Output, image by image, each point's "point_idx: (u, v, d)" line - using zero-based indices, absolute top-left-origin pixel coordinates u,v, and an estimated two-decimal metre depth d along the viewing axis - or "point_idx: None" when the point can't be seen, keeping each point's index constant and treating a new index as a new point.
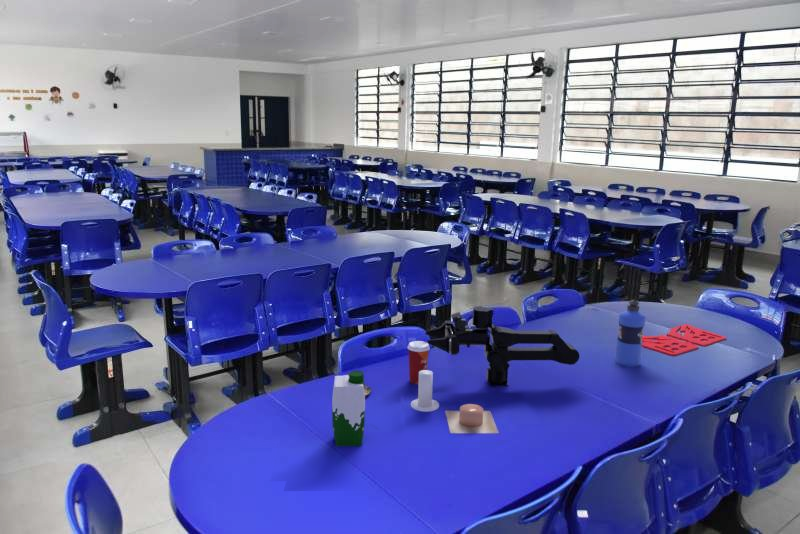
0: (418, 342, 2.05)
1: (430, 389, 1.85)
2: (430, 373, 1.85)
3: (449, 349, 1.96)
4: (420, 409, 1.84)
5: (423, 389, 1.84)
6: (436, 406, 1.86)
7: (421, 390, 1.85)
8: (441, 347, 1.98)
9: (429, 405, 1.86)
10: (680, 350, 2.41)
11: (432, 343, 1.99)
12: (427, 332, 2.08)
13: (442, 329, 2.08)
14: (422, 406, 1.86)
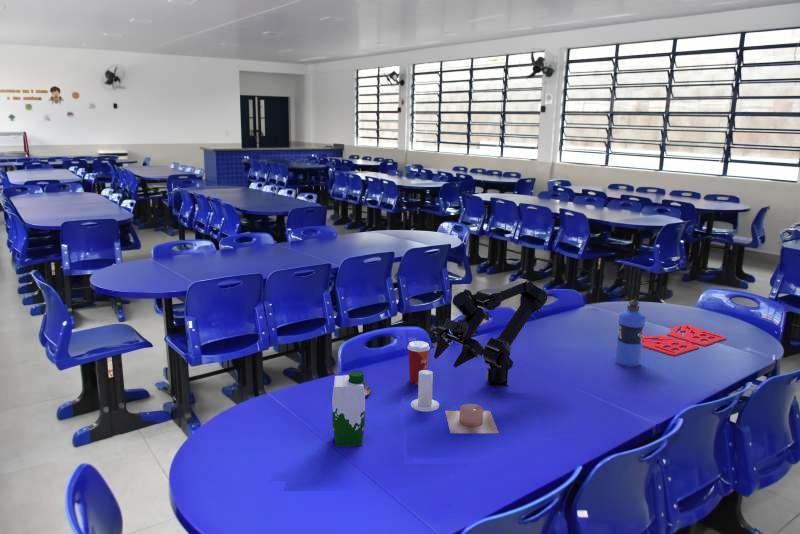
0: (418, 342, 2.05)
1: (430, 389, 1.85)
2: (430, 373, 1.85)
3: (476, 354, 1.86)
4: (420, 409, 1.84)
5: (423, 389, 1.84)
6: (436, 406, 1.86)
7: (421, 390, 1.85)
8: (467, 358, 1.87)
9: (429, 405, 1.86)
10: (680, 350, 2.41)
11: (458, 364, 1.86)
12: (436, 356, 1.93)
13: (442, 340, 1.95)
14: (422, 406, 1.86)
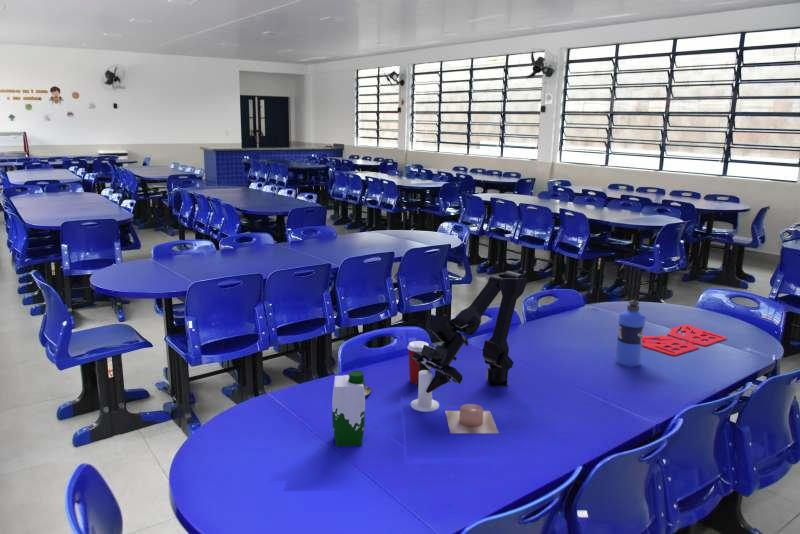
0: (418, 342, 2.05)
1: None
2: (430, 373, 1.85)
3: (449, 379, 1.84)
4: (420, 409, 1.84)
5: (423, 389, 1.84)
6: (436, 406, 1.86)
7: (421, 390, 1.85)
8: (440, 383, 1.85)
9: (429, 405, 1.86)
10: (681, 350, 2.41)
11: (431, 389, 1.84)
12: None
13: (425, 369, 1.89)
14: (422, 406, 1.86)
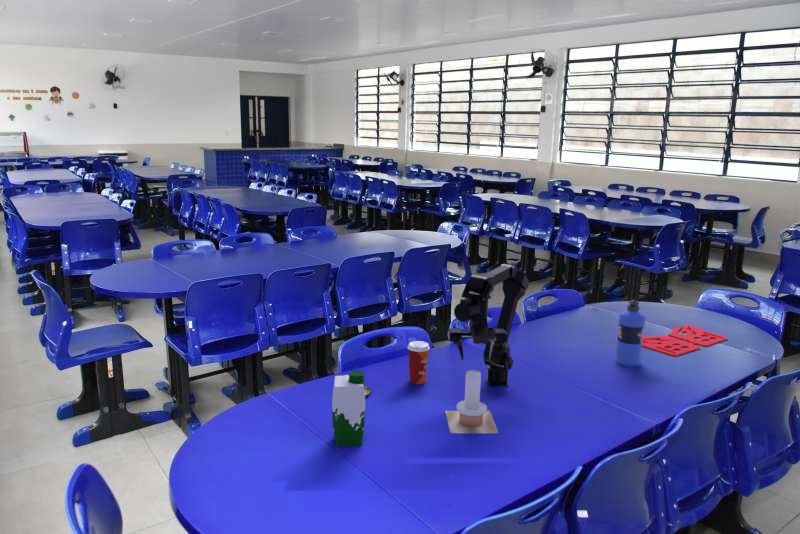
0: (418, 342, 2.05)
1: None
2: (478, 372, 1.74)
3: None
4: (475, 412, 1.73)
5: (475, 391, 1.73)
6: (484, 405, 1.77)
7: (472, 392, 1.73)
8: None
9: (479, 406, 1.75)
10: (682, 351, 2.40)
11: None
12: None
13: None
14: (473, 409, 1.74)
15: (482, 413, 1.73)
